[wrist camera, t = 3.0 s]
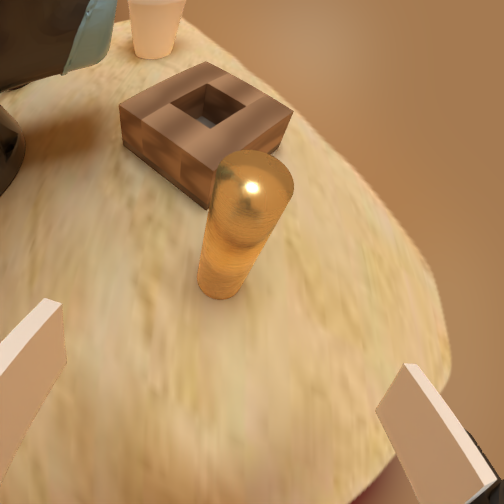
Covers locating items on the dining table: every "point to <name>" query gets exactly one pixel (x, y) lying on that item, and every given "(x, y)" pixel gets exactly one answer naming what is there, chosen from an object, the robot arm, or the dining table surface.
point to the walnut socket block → (200, 126)
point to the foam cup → (154, 26)
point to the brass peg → (241, 218)
